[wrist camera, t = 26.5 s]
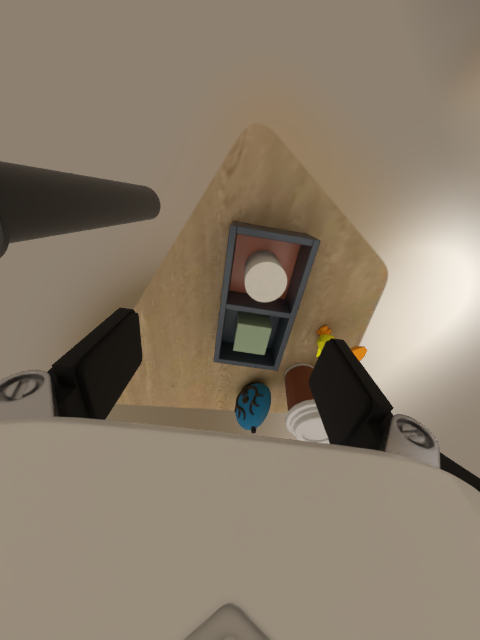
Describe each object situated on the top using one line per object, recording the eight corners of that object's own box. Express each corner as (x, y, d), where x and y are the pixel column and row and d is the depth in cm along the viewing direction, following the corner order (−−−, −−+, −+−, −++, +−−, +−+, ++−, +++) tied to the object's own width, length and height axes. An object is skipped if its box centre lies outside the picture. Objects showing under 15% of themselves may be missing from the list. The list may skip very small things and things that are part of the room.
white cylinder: (242, 280, 31) (241, 299, 25) (248, 246, 29) (248, 258, 23) (274, 285, 32) (281, 305, 26) (282, 252, 29) (292, 265, 23)
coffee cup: (320, 390, 44) (343, 449, 33) (276, 391, 44) (286, 450, 34) (326, 356, 39) (355, 412, 29) (278, 358, 40) (289, 413, 29)
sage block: (234, 333, 36) (233, 350, 32) (238, 308, 34) (237, 323, 30) (262, 337, 37) (264, 355, 32) (268, 312, 34) (272, 328, 30)
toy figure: (334, 311, 34) (372, 359, 24) (346, 324, 36) (388, 374, 25) (302, 336, 37) (324, 388, 27) (315, 347, 38) (341, 401, 28)
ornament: (260, 371, 41) (263, 415, 33) (274, 383, 43) (281, 429, 34) (229, 389, 44) (225, 435, 36) (244, 401, 46) (243, 447, 37)
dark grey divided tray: (217, 341, 38) (213, 362, 33) (232, 221, 28) (230, 224, 23) (273, 349, 39) (277, 371, 34) (308, 234, 29) (321, 240, 24)
